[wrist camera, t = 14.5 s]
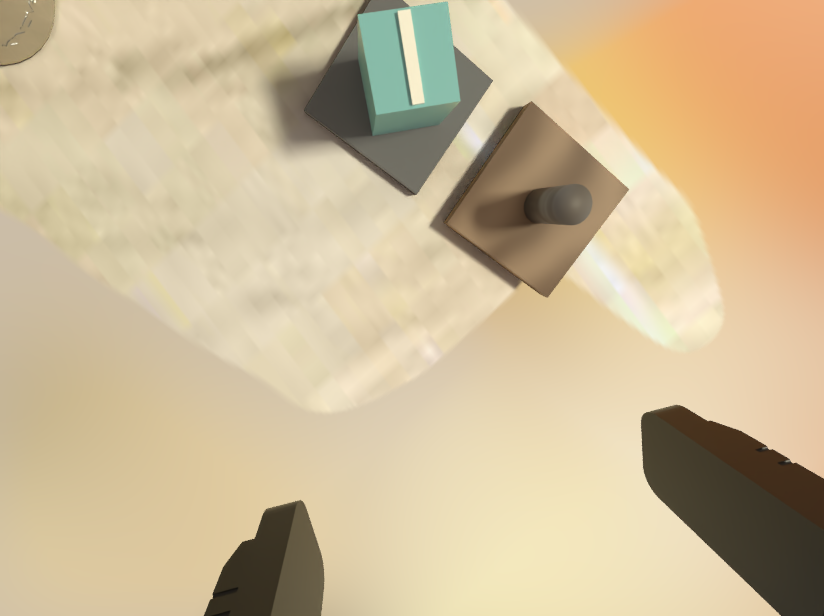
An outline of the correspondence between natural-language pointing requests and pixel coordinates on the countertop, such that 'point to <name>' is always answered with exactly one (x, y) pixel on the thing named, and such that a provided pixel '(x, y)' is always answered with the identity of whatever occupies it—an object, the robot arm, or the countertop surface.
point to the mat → (399, 151)
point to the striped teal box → (407, 67)
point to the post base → (508, 191)
